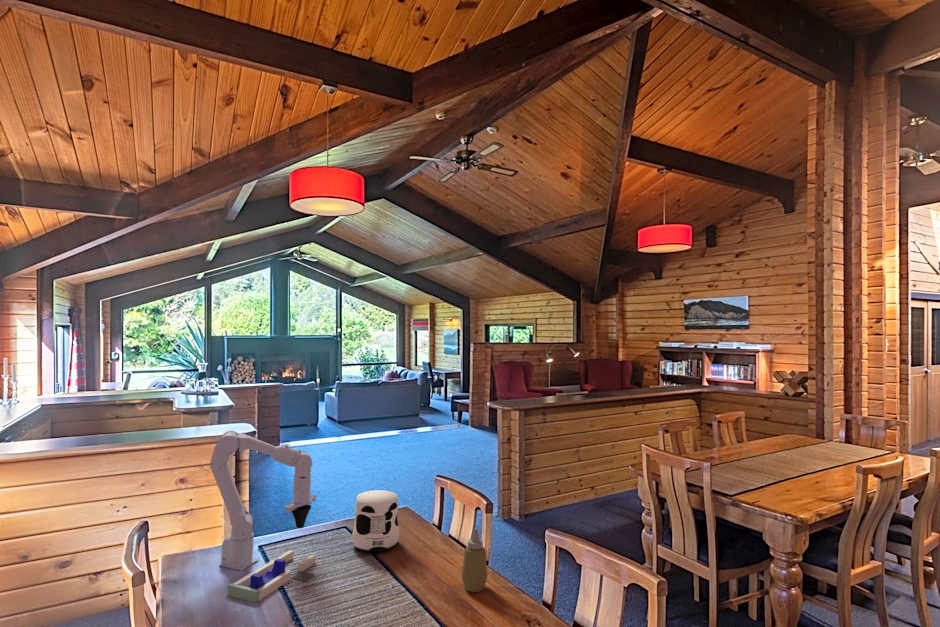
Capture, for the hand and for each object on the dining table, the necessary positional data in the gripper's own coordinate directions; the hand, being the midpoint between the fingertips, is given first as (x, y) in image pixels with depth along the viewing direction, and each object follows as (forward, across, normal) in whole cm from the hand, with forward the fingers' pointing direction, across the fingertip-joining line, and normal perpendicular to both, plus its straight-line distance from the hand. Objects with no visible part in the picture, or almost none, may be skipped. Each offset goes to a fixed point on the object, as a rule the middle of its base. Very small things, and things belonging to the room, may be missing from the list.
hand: (300, 527), depth 171 cm
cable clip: (+10, -21, -4) cm, 24 cm away
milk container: (+10, +18, -20) cm, 29 cm away
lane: (+10, -15, -3) cm, 18 cm away
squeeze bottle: (+10, +2, -64) cm, 65 cm away
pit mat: (+10, -12, -11) cm, 19 cm away
